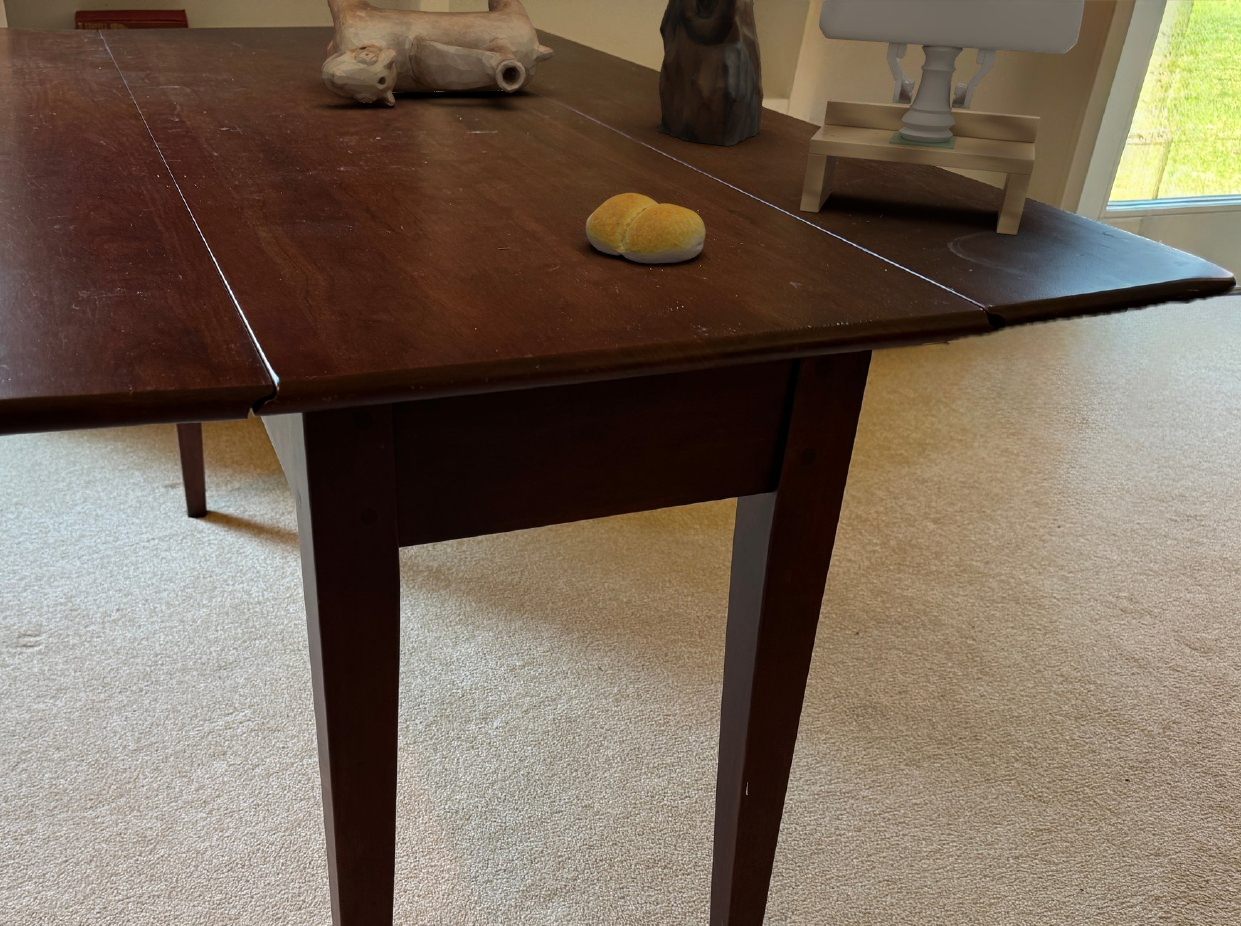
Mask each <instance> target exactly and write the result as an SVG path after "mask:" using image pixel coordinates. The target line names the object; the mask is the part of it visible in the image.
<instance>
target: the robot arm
mask: <svg viewBox="0 0 1241 926" xmlns="http://www.w3.org/2000/svg"><path fill="white" fill-rule="evenodd" d="M1084 8H1085V0H822V3H821V8H820V13H819V20H818V27H819V30H820V31H821V33H822V35H823V36H824V37H825V38H826V39H828V40H840V41H841V40H843V41H854V42H855V41H857V42H873V43H884V44H885V43H888V46H887V51H886V60H887V64H888V67H889V69H890V72H891V75H892V78H893V81H895V84H894V91H893V96H892V104H899V105H911V103H912V100H913V95H914V94H913V91H914V88H915V84H916V79H912V78H907V77H906V75H905V72H904V69H903V66H902V63H901V60H902V59H904V57H906V55H907V50H908V46H909V45H917V46H923V45H930V46H945V47H959V48H963V49H965V48H966V49H977V54H976V60H975V63H976V65H980V66H979V67H978V69H977V70H976V71H975V72H974V74H973V75H972V76H971V77H970V78H969V80H968V81H967V82H965V83H963V82H956V84H955V88H954V93H953V94H954V97H953V98H952V101H951V106H950V107H951V108H952V109H960V110H970V109H971V105H972V100H973V95H974V92H975V91H974V90H975V88H976V87H977V86H978V85H979V83H980V82H981V81H982V80H983V79H984V78H985V77H986V75H987V74H988V73H989V71H991V69H992V67H993V66H994V63H995V58H996V54H997V51H1005V52H1006V51H1007V52H1018V53H1019V52H1021V53H1035V54H1050V55H1065V54H1066V53H1068V52H1069V51H1070V50H1071V49H1073V47H1074V46H1075V45H1077V44H1078V41H1079V36H1080V32H1081V27H1082V21H1083V16H1084Z"/></svg>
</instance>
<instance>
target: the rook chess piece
mask: <svg viewBox="0 0 1241 926" xmlns="http://www.w3.org/2000/svg"><path fill="white" fill-rule="evenodd" d="M921 49H922V51H923V53H924V57H925V59H924V63H923V64H922V65H921V66H920V68H921V70H922V73H921V77H920V82H919V85H918V88H917V91H916V95H915V97H914V99H913V102H912V104H909V106H910V110H909V111H908V112H907V113H905V114H904V116H903V118H902V121H903V123H904V125H905V126H904V127H903V128H902V129H900V130H899V132H900V134H901V136H902V137H903V138H904V139H907V140H911V141H917V142H927V143H942V142H947V141H948V140H949V139H950V138H951V137H952V135H953V134H952V133H951V131H950V130H949V129H950V128H951V127H952V126H953V125H954V124H955V121H954V117H953V116H952V114H951V110H953V108H951V107H952V106H951V90H952V88H951V87H952V79H953V75H954V73H955V72H956V70H957V68H956V66H955V62H956V59H957V58H958V56H959V55H960V54H961V53H962V52H963V51H964V48H959V47H945V46H930V45H921Z"/></svg>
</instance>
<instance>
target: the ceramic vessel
mask: <svg viewBox="0 0 1241 926" xmlns="http://www.w3.org/2000/svg"><path fill="white" fill-rule="evenodd" d="M326 1H327V6H328V8H329V12H330V15H331V18H332V23H333V33H332V39H331V41H330V42H329V43H328V44H327V46H326V50H325V52H326V53H325V54H326V59H325V60H324V62H323V64H322V66H321V69H320V74H321V81H322V83H323V85H324V86H325V87H326V88H327V89H328V91H331V92H332V93H334V94H337V95H339V96H341V97H342V98H347V99H348V98H349V99H350V98H352V99H354V100H356V101H357V102H359V103H361V102H365V103H370V102H373V103H375V102H376V101H382V102H383V103H384V102H387V103H390V104H394V103H395V104H396V100H395V97H394V94H392V92H434V91H435V92H436V91H498V90H499V91H501V90H503V91H505V92H504V93H509V94H511V93H514V92H517V90H518V91H520V90H522V89H523V88H525V87H527V86H528V85H529V84H530V83H531V82H532V81H533V79H534V77H535V76H536V73H537V69H538V64H539V63H542V62H546V61H549V60H550V59H551V58H554V57H555V52H556V50H555V49H554V48H551V47H549V46H545V45H542V44H540V42H539V38H538V34H537V31H536V29H535V26H534V25H533V23H532V20H531V18H530V16H529V14H528V13H527V10H526V8H525V6H524V5H523V3H522V2H521V0H487V4H488V10H485V11H427V10H414V9H413V10H411V9H398V8H397V9H396V8H381V7H377V6H374V5H372V3H370V2H369V1H367V0H326ZM519 89H520V90H519ZM365 103H364V104H365Z"/></svg>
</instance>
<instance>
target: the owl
mask: <svg viewBox="0 0 1241 926" xmlns="http://www.w3.org/2000/svg"><path fill="white" fill-rule="evenodd" d="M754 5H755V2H754V0H668V2H667V5H666V8H665V10H664V13H663V16H662V19H661V23H660V26H659V33H660V36H661V39H662V44H663V52H664V55H663V60H662V63H661V67H660V73H659V77H658V78H659V80H658V81H659V82H658V95H659V101H660V111H661V121H660V124H659V126H658V128H657V129H656V131H657V132H658V133H662V134H666V135H667V134H668V136H669V137H673V138H678V139H681V141H685V142H692V143H698V144H708V145H709V144H710V145H715V146H717V145H718V146H722V147H729V146H735V145H736V144H738V143H739V142H744V141H745V140H747V139H748V138H753V137H755V136H757V134H759V133H760V132H761V124H762V118H763V109H764V108H763V107H764V106H763V101H764V96H765V95H764V89H763V81H762V79H763V77H762V62H761V61H762V60H761V48H760V43H759V42H760V41H759V37H758V32H757V25H756V21H755V15H754ZM752 136H753V137H752Z"/></svg>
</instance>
